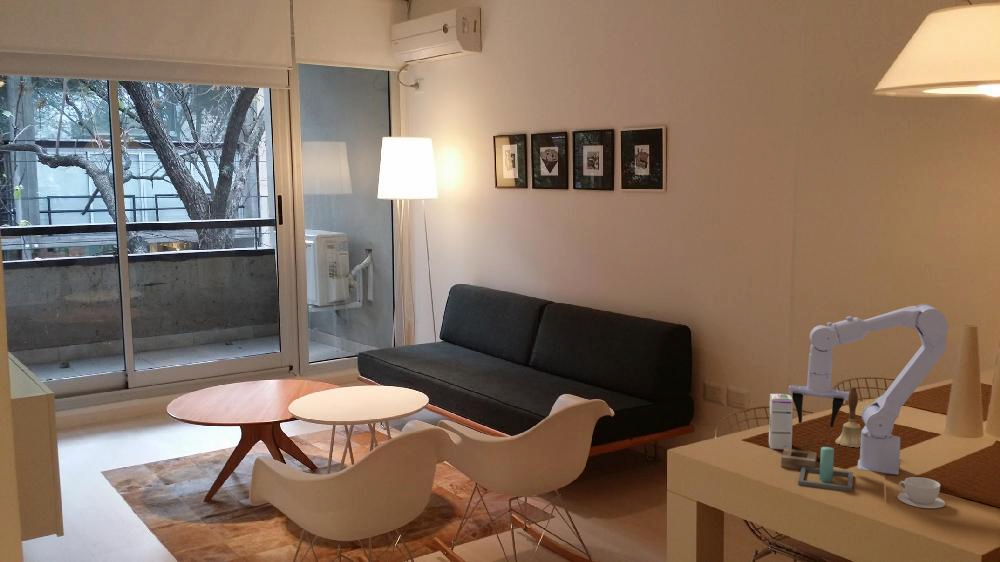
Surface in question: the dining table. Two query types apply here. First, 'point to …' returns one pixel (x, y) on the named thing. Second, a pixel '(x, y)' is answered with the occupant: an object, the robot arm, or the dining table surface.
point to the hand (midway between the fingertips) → (815, 424)
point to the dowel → (826, 464)
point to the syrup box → (780, 421)
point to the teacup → (921, 493)
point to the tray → (825, 485)
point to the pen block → (798, 458)
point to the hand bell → (851, 424)
